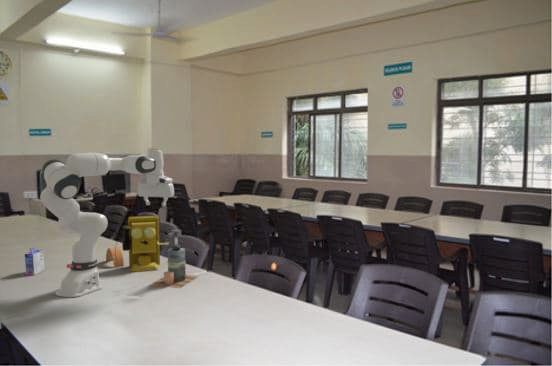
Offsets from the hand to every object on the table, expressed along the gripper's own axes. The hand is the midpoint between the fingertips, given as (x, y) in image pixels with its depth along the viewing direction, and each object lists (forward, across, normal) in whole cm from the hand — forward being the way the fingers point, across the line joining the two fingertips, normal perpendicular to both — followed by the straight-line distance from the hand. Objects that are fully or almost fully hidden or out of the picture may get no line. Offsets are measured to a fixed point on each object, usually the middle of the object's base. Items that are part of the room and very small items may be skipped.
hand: (155, 205), depth 241 cm
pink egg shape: (+40, +11, -8) cm, 42 cm away
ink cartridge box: (+41, -76, -5) cm, 87 cm away
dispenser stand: (+41, +11, -1) cm, 43 cm away
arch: (+42, -44, +25) cm, 66 cm away
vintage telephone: (+41, -22, +20) cm, 51 cm away
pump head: (+21, +11, -2) cm, 24 cm away
